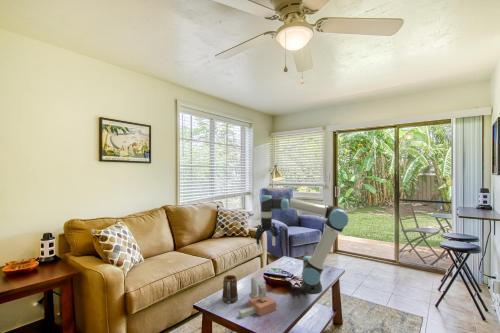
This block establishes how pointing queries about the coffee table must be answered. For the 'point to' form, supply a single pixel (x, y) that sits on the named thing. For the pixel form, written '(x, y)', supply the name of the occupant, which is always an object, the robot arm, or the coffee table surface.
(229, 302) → the mug
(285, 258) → the coffee table surface
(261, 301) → the wedge pin
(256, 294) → the square hole peg fixture
